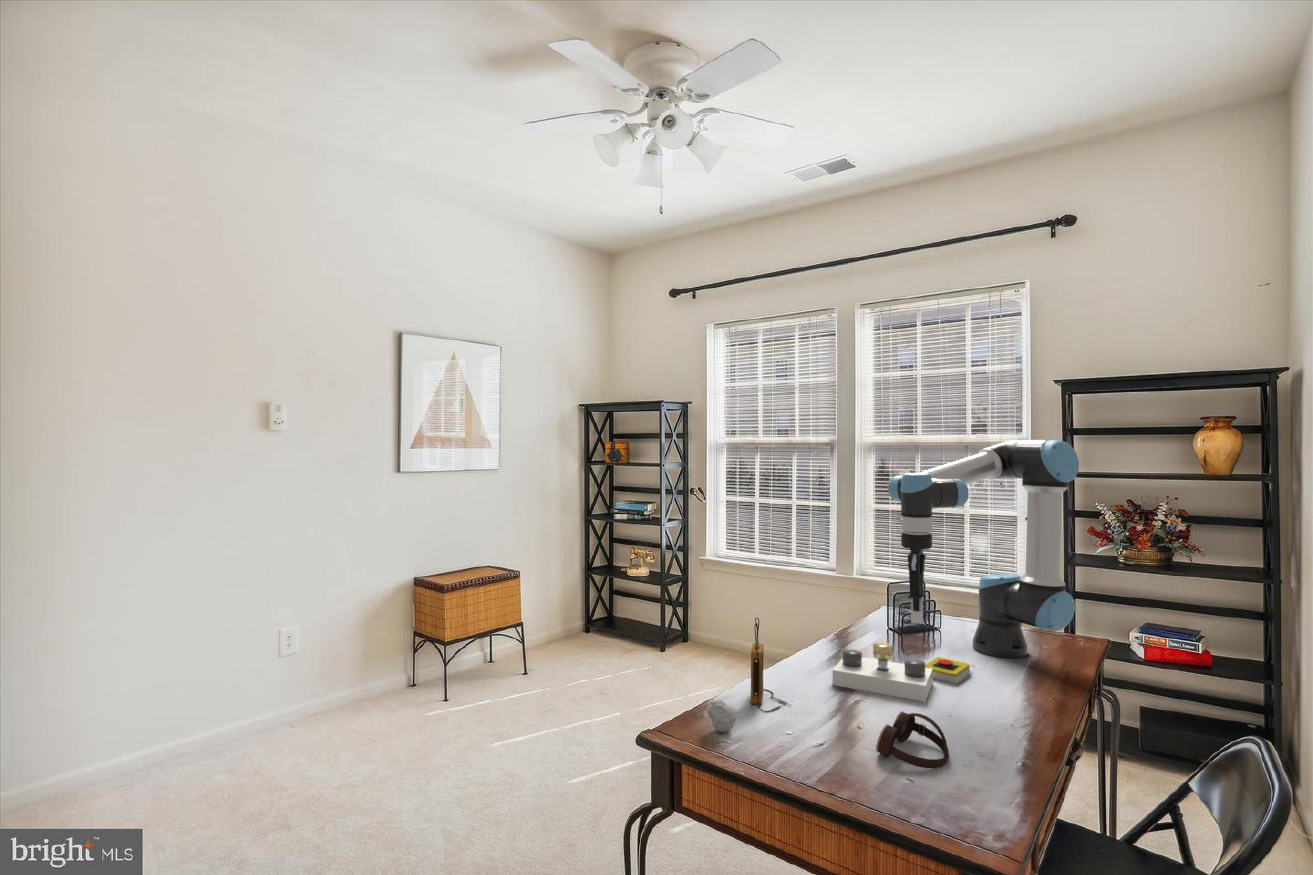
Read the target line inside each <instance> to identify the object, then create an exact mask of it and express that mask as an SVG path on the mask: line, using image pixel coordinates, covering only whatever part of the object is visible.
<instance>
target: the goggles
mask: <svg viewBox="0 0 1313 875" xmlns="http://www.w3.org/2000/svg"><path fill="white" fill-rule="evenodd" d="M916 717H918V718H920V719H923V720H925V721H926V722H928V723H930V724H931V725H932V726H933V727H934V728H935V729H936V731H937V732H938V734H939V735H938V734H937V733H936V732H934V731H932V729H929V728H928V727H926V725H925V724H923V723H918V722H916ZM912 732H915V733H917V735H919V736H921V737H923V736H924V737H926V739H929V740H930V741H931V742H933V743H934V744H936V746H937V747H938V748H939V749H940V750H941V752H942V753H943V757H942V758H941V757H940V758H935V759H931V758H929V759H928V758H923V757H919V756H915V755H913V754H909V753H907V752H905V751H903V750H901V749H899V748H898V747H895V746H894V744H895V741H898V742H899V743H901V744H903V743H904V742H906V741H907V740H908V739H909V738H910V737H911V735H912ZM875 751H876V752H877V753H879V754H880V755H882V756H883V757H884V758H886V760H889V758H890V756H893V757H894V758H895V759H897V760H899V761H901V762H903V763H905V764H908V765H912V766H914V767H917V768H918V767H919V768H923V769H937V768H938V769H939V768H941V767H943V766H944V765H946V764H947V762H949V759H950V751H949V747H948V744H947V739H946V736H945V733H944V732H943V730H942V729H941V727H940V726H939V725H938V724H937V723H936V722H935V721H934V720H933V719H932V718H930V717H929V716H927V715H924V714H921V713H917V712H915V713H914V712H911V713H907V712H904V711H902V710H901V711H899V713H898V714H897V715H896V718H895V720H894V722H893V724H892V725H890V724H889V723H887V724H885V725H884V726H883V727H882V730H881V731H880V733H879V736H878V738H877V741H876V746H875Z"/></svg>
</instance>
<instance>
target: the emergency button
mask: <svg viewBox="0 0 1313 875" xmlns="http://www.w3.org/2000/svg"><path fill="white" fill-rule="evenodd" d="M925 668H932V669H933V682H936V683H939V684H943V685H947V686H952V687H954V686H957V685H958V684H959V683H961V682H962V681H963V680H965V679H966V678H968V677H969V676H970V675H971V674H973V671H972V670H970V669H971V668H970V664H969V663H967V662H963V661H958V660H954V659H950V658H946V657H939V656H937V657H935V658H934V659H932V660H931V661H929V662H927V663H925Z"/></svg>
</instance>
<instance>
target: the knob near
mask: <svg viewBox="0 0 1313 875" xmlns="http://www.w3.org/2000/svg"><path fill="white" fill-rule="evenodd" d="M904 664H905V674H906V675H908V676H911V677H924V676H925V665H926V663H925V661H922V660H921V659H920V660H919V659H914V658H911V659H910V658H907V659H905V660H904Z"/></svg>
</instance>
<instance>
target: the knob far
mask: <svg viewBox="0 0 1313 875" xmlns="http://www.w3.org/2000/svg"><path fill="white" fill-rule="evenodd" d="M842 658H843V664H844V665H847V666H852V667H858V666H861V665H862V658H863V653H862V652H861V651H860V650H857V649H844V650H842Z"/></svg>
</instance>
